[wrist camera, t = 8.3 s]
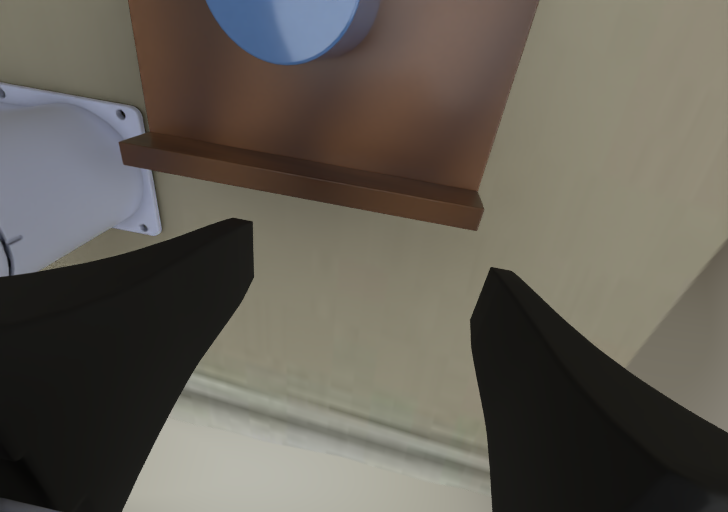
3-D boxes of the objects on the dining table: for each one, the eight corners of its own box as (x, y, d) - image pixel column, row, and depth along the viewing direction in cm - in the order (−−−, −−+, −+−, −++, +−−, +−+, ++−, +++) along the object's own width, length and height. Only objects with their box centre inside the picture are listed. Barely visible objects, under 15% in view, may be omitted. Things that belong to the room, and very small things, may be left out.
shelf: (197, 134, 20) (122, 165, 15) (173, -110, 15) (47, -186, 10) (462, 182, 20) (477, 231, 15) (533, -55, 14) (594, -109, 9)
